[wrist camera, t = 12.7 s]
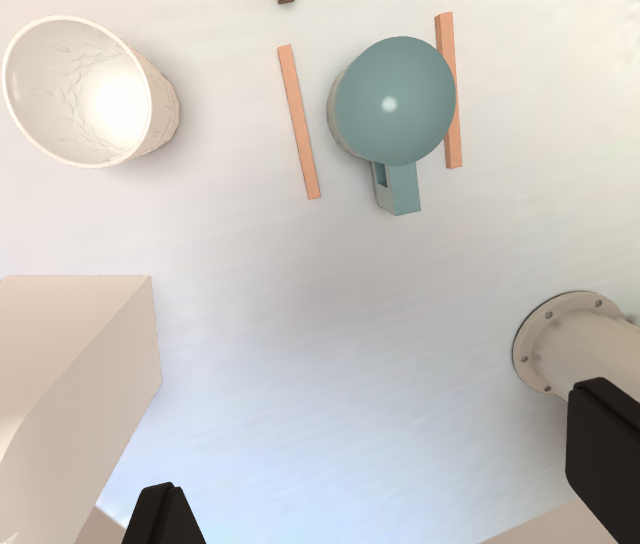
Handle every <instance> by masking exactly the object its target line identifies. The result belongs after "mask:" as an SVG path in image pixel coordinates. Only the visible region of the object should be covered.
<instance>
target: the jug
mask: <svg viewBox="0 0 640 544" xmlns="http://www.w3.org/2000/svg"><path fill="white" fill-rule="evenodd" d="M455 106H456V88H455V82H454V78H453V75H452V72H451V69H450V67H449V65H448V64H447V62H446V60H445V59H444V58H443V56H442V55H441V54H440V53H439V52H438V51H437V50H436V49H435V48H434V47H432V46H431V45H430V44H428V43H426V42H424V41H422V40H419V39H416V38H412V37H402V36H399V37H391V38H388V39H384V40H382V41H380V42H377V43H375V44H374V45H372V46H371V47H369V48H368V49H367V50H366V51H364V52H363V53H362V54H361V55H360V56H359V57H358V58H357V59H355V60H354V61H353V62H352V63H351V64H350V65H349V66H348V67H347V68H346V69H345V70H343V71H342V73H341V74H340V75H339V76H338V77H337V79H336V80H335V82H334V83H333V85H332V87H331V90H330V92H329V96H328V100H327V121H328V125H329V128H330V131H331V133H332V135H333V137H334V139H335V140H336V141H337V143H338V144H339V145H340V146H341V147H342V148H343V149H344V150H345V151H347V152H348V153H350V154H352V155H354V156H356V157H360V158H363V159H367V160H371V164H372V171H373V178H374V185H375V191H376V198H377V204H378V205H380V206H381V207H383V208H384V209H386V210H387V211H389V212H390V213H392V214H393V215H394V216H399V215H403V214H408V213H412V212H417V211H421V209H420V199H419V190H418V181H417V171H416V162H415V161H417V160H419V159H421V158H423V157H424V156H426V155H427V154H429V153H430V152H431V151H433V150H434V149H435V148H436V147H437V146H438V144H439V143H440V142H441V141H442V139H443V138H444V136H445V135H446V133H447V131H448V129H449V127H450V125H451V122H452V120H453V117H454V112H455Z"/></svg>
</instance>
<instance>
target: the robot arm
mask: <svg viewBox="0 0 640 544" xmlns="http://www.w3.org/2000/svg"><path fill="white" fill-rule="evenodd" d="M513 362H514V367H515V369H516V371H517V373H518V375H519V376H520V377H521V379H522V380H523V381H524V382H525V383H526V384H527V385H528V386H530V387H531V388H532V389H534V390H536V391H538V392H541V393H544V394H551V395H560V396H561V397H562V398H563V399H564V400H565V401H566V402H567V403H568V416H567V442H566V468H565V472H566V477H567V480H568V482H569V484H570V486H571V487H572V489H573V490H574V491H575V492H576V494H577V495H578V496H579V497H580V498H581V499H582V501H583V502H584V503H585V504H586V505H587V507H588V508H589V509H590V510H591V511H592V512H593V514H594V515H595V516H596V517H597V519H598V520H599V521H600V522H601V523H602V524H603V525H604V527H605V528H606V529H607V530H608V531H609V533H610V534H611V535H612V536H613V538H614V539H615V540H616V541H617V542H618V543H619V544H640V326H638V327H637V326H635V325H634V324H632V323H630V322H628V321H626V320H624V317H623V314H622V313H621V311H620V309H619V308H618V307H617V306H616V305H615V304H614V303H613V302H612V301H610V300H608V299H606V298H605V297H603V296H600V295H598V294H595V293H591V292H584V291H583V292H571V293H567V294H563V295H560V296H558V297H556V298H553V299H551V300H550V301H548V302H546V303H545V304H543V305H542V306H540V307H539V308H538V309H537V310H536V311H534V312H533V313H532V314H531V315H530V317H529V318H528V319H527V320H526V321H525V323H524V324H523V326H522V327H521V329H520V330H519V333H518V335H517V337H516V340H515V344H514V348H513ZM122 544H206V542H205V540H204V537H203V535H202V533H201V531H200V528H199V526H198V524H197V522H196V520H195V517H194V515H193V513H192V511H191V508H190V506H189V504H188V502H187V499H186V497H185V495H184V493H183V490H182V489H181V487H174V485H173V484H172V483H171V482H166V483H162V484H158V485H154V486H150V487H146V488H144V489H143V490H142V491H141V493H140V495H139V498H138V501H137V503H136V506H135V509H134V511H133V514H132V517H131V519H130V522H129V525H128V527H127V530H126V533H125V536H124V539H123V541H122Z"/></svg>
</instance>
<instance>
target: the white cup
mask: <svg viewBox="0 0 640 544" xmlns="http://www.w3.org/2000/svg"><path fill="white" fill-rule="evenodd" d="M1 87H2V92H3V97H4V100H5V103H6V106H7V108H8V111H9V113H10V115H11V117H12V119H13V120H14V122H15V124H16V125H17V127H18V128H19V129H20V131H21V132H22V133H23V134H24V136H25V137H26V138H27V139H28V140H29V141H30V142H31V143H32V144H33V145H34V146H36V147H37V148H38V149H39V150H41V151H42V152H43V153H45V154H46V155H48V156H50V157H52V158H53V159H55V160H57V161H60V162H62V163H65V164H68V165H71V166H75V167H80V168H90V169H95V168H104V167H109V166H112V165H115V164H118V163H121V162H124V161H128V160H131V159H134V158H137V157H140V156H142V155H145V154H147V153H149V152H151V151H153V150H156V149H158V148H159V147H161V146H162V145H164V144H165V143H167V142H168V141H169V140H171V139H172V137H173V135H174V133H175V131H176V129H177V127H178V125H179V101H178V99H177V96H176V94H175V92H174V89H173V87H172V85H171V83H170V82H169V81H168V80H167V79H166V78H165V77H164V76H163V75H162V74H161V73H160V72H159V71H158V70H157V68H156V67H155V66H153V65H152V64H151V63H150V62H149V61H148V60H147V59H146V58H144V57H143V56H142V55H141V54H139V53H138V52H137V51H135V50H134V49H133V48H131V47H130V46H129V45H128V44H126V43H125V42H124V41H122V40H121V39H120V38H118V37H117V36H116V35H115V34H113V33H112V32H111V31H109V30H108V29H106V28H104V27H103V26H101V25H99V24H97V23H95V22H93V21H90V20H87V19H84V18H81V17H77V16H71V15H51V16H46V17H42V18H39V19H36V20H34V21H32V22H30V23H28V24H27V25H25V26H24V27H23V28H21V29H20V30H19V31H18V32H17V33H16V34H15V35H14V37H13V38H12V39H11V41H10V42H9V44H8V46H7V48H6V50H5V53H4V56H3V60H2V65H1Z"/></svg>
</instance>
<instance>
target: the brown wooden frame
mask: <svg viewBox="0 0 640 544" xmlns="http://www.w3.org/2000/svg"><path fill="white" fill-rule="evenodd" d="M292 1H294V0H278V3H279V4H282V3H287V2H292Z"/></svg>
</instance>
